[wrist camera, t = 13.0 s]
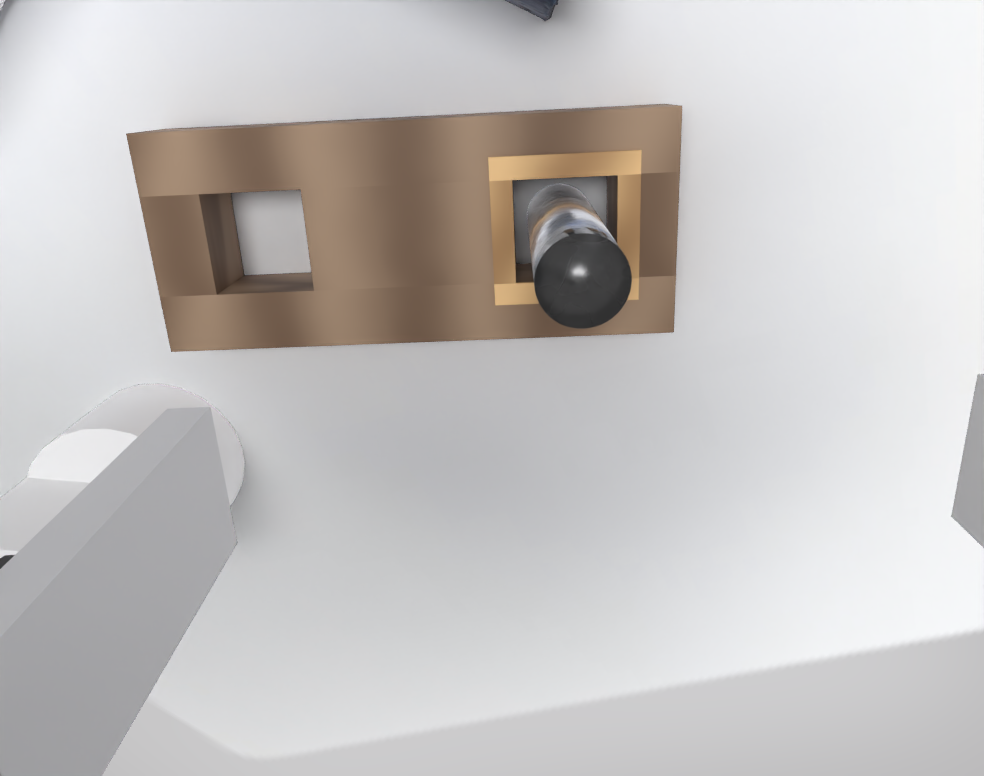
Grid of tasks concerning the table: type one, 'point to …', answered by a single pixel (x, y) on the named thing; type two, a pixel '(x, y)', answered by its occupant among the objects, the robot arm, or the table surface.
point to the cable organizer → (1, 3)
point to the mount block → (401, 224)
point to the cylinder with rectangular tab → (101, 457)
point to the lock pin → (575, 259)
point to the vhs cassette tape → (537, 7)
